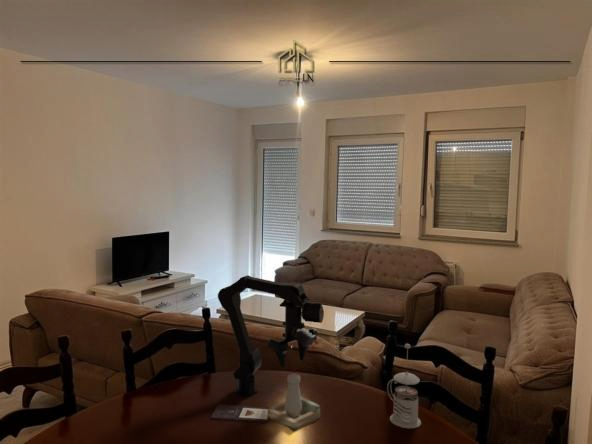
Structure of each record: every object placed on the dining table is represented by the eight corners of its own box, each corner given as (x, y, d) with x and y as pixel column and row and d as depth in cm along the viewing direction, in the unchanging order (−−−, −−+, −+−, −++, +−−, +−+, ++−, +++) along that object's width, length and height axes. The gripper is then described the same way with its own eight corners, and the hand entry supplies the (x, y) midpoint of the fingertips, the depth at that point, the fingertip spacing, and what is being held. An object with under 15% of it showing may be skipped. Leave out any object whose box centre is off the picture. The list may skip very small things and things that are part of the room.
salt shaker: (286, 419, 135) (286, 379, 134) (282, 411, 140) (283, 372, 140) (303, 418, 136) (304, 378, 136) (299, 409, 142) (300, 371, 141)
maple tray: (267, 416, 138) (267, 404, 138) (293, 404, 147) (294, 393, 146) (293, 431, 130) (293, 418, 130) (319, 417, 138) (320, 405, 138)
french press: (409, 431, 131) (412, 351, 130) (379, 417, 139) (381, 341, 138) (427, 421, 137) (429, 344, 136) (396, 407, 146) (399, 335, 145)
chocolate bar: (218, 404, 145) (270, 407, 143) (218, 406, 145) (270, 410, 143) (210, 417, 136) (266, 421, 134) (210, 420, 136) (266, 424, 134)
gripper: (290, 330, 137) (289, 378, 137) (328, 319, 150) (327, 363, 151) (267, 322, 144) (266, 368, 145) (305, 313, 158) (304, 355, 158)
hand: (292, 363), depth 150 cm, fingers open, 9 cm apart
